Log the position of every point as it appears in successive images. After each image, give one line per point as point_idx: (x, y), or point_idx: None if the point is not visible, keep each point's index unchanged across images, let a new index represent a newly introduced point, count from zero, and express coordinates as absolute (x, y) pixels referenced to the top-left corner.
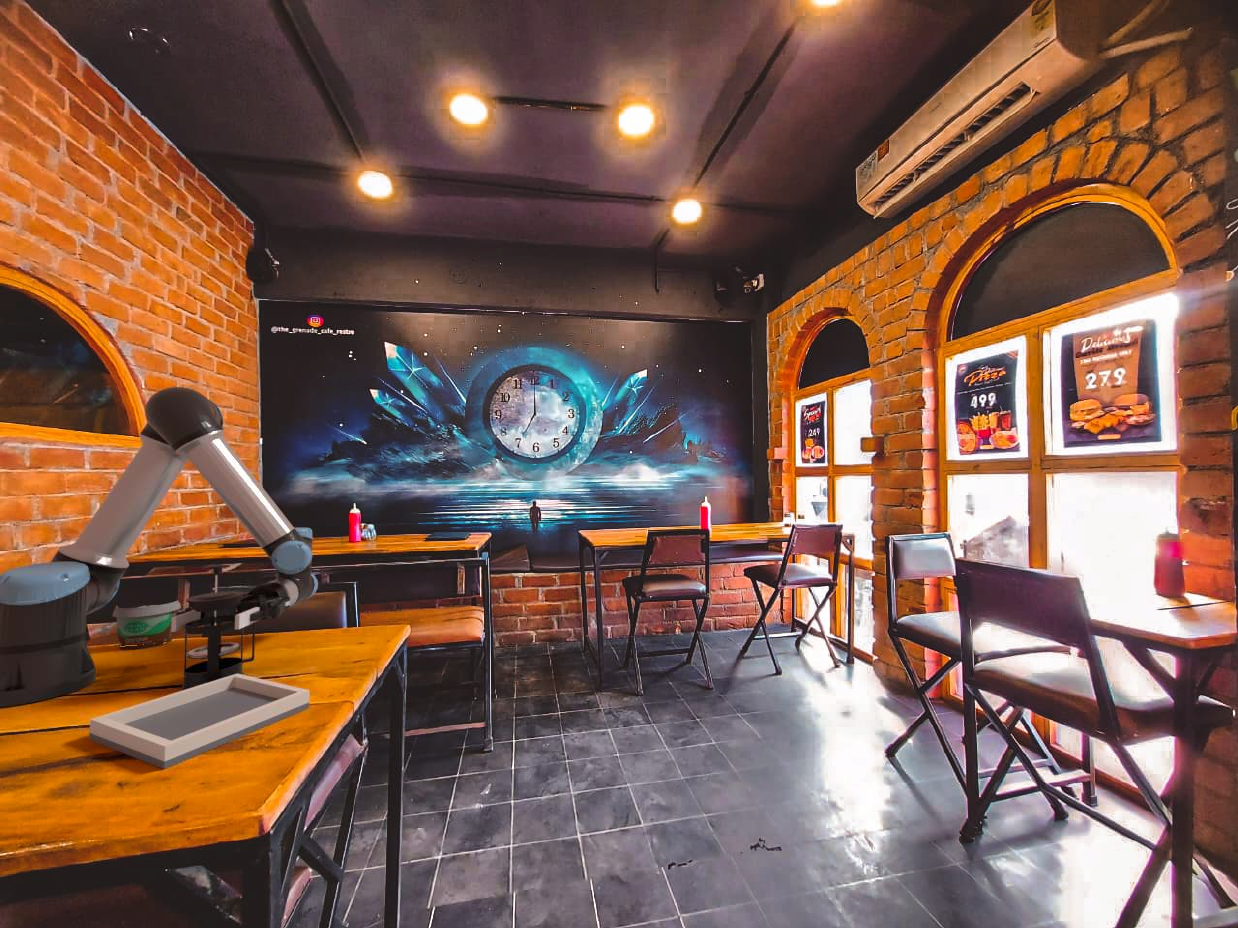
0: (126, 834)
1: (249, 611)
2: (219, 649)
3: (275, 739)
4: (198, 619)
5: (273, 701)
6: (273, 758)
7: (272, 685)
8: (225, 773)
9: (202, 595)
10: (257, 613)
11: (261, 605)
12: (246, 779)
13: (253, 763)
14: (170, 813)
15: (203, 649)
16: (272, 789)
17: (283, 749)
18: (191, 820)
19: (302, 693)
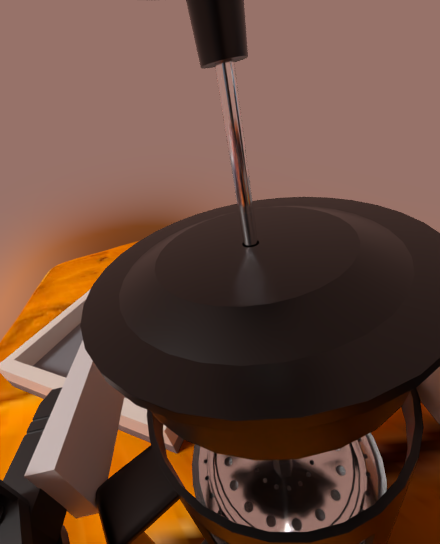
0: (116, 247)
1: (73, 366)
2: (274, 472)
3: (52, 318)
4: (436, 401)
5: (49, 330)
6: (50, 298)
7: (59, 376)
8: (83, 281)
9: (316, 218)
10: (42, 402)
11: (3, 484)
12: (66, 280)
13: (65, 291)
14: (102, 257)
15: (348, 466)
16: (46, 278)
17: (43, 308)
18: (87, 257)
19: (7, 357)
